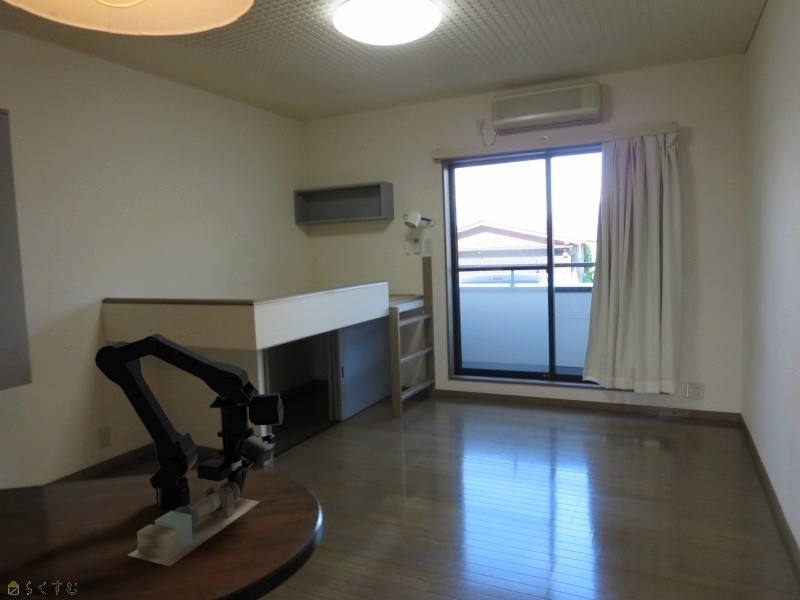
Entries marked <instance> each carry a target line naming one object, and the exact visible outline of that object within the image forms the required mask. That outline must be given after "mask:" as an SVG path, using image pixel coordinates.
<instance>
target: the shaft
mask: <svg viewBox="0 0 800 600" xmlns="http://www.w3.org/2000/svg"><path fill="white" fill-rule="evenodd" d="M228 490H231V491H233V497H234V501H235V500H236V499H238V498H240V496H241V494H240V488H239V486H238V484H237V483H236V482H234V481H232V480H229V481H228V480H227V481H225V482H224V483H222V484H221V485H220V486H219V488H218V490H215V491H214V493H212V494H211V495H209V496H207V497H206V498H204V499H203V498H202V499H201V500H199V501H198V502H196V503H194V504H193V505H191V506H188V505H187V506H181V507H179V508H175V509H174V510H173V511H174V512H179V513H184V514H189V515H191V519H192V531H193V530H194V529H195V528H196V525H197V521H199V520H201V519H202V518H204V517H205V516H207V515H208V514H210V513H211V512H213V511H214V510H216V509H217V508H219V507H221V506H222V505H223V501H222V494H223V493H225V492H226V491H228Z"/></svg>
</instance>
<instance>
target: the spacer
mask: <svg viewBox="0 0 800 600" xmlns="http://www.w3.org/2000/svg"><path fill="white" fill-rule="evenodd" d="M154 525H156V526H161V527H165V528H170V529H174V530H178V531H179V539H180V548H182V547H183V546H185V545H186V544H188V543H189V542H191V541H192V540H193V539H192V519H191V515H189V514H184V513H179V512H174V510H169V511H168V512H167V513H165V514H163V515H161V516H160V517H158V518H156V519H154Z"/></svg>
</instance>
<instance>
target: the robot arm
mask: <svg viewBox="0 0 800 600" xmlns="http://www.w3.org/2000/svg"><path fill="white" fill-rule="evenodd" d="M147 356H152V357H155V358H156V359H158V360H161V361H163V362H165V363H167V364H170V365H171V366H173V367H175V368H177V369H179V370H182V371H184V372H186V373H188V374H190V375H192V376H193V377H196V378H198V379H200V380H201V381H203V383H204V384H206V386H207V387H208V388H209V389H210V390H211V391H212V392H215V393H216V394H217V396H216V397H215V400H213V402H211V404H210V405H209V408H210V409H219V412H220V427H221V429H220V430H219V431H217V432H216V436H217V438H221V445H222V448H221V449H219V450H218V455H219V456H223V458H222V459H218V458H212V457H211V458H210V459H207V460H206V461H204V462H201V464H199V465H198V466H197V467H196V474H197V479H201V480H207V481H211V482H212V481H213V482H222V481H224V480H225V479H227V481H229V480H232V481H234V482H236V483H237V484H238V486H239V488H240V495H241V494H242V493H243V489H244V486H245V481H246V479H247V475H248V472H249V469H250V468H251V466H253V465H255V466H261V465H263V464H265V462H267V461H269V460H271V456H272V453H273V452H274V451H275V450H276V449H277V447H276V443H277V442H276V436H275V434H272V433H271V432H269V433H268V434H265V435H264V436H263V435H255V430H254V428H253V427H250V426H249V421H250V423H251V424H253V425H254V426H280V425H283V420H284V404H283V400H282V399H281V393H280V392H273V393H264V394H262V393H260V392H259V390H258V389H257V388H256V387H255V385H253V383H252V382H251V381H250V378H249V375H248V372H247V371H246V370H245V369H244V368H243V367H241V366H237V365H234V364H231V363H227V362H219V361H215V360H211V359H209V358H208V357H205V356H203V355H201V354H199V353H197V352H195V351H193V350H191V349H188V348H187V347H185V346H182V345H181V344H178V343H176V342H175V341H172V340H170V339H169V338H166V337H165V336H164V335H162V334H160V333H154V334H151V335H148V336H146V337H144V338H141V339H139V340H136V341H132V342H128V341H125V340H120V341H116V342H113V343H111V344H107V345H105V346H102V347H101V348H99V349H98V350H97V352H96V355H95V358H94V363H95V365H96V367H97V368H98V370H99V371H100V372H101V373H102V374H103V375H104V376H105V377H106V379H108V381H111V382H112V383H114V384H115V385H117V386H118V387H119V388H120V389H121V390H122V392H123V394H124V395H125V397H126V399H127V400H128V402H129V404H130V405H131V407H132V408H133V410H134V411H135V413H136V415H137V417H138V418H139V420H140V421H141V423H142V425H143V426H144V428H145V430H146V431H147V433H148V435H149V436H150V438H151V439H152V441H153V443H154V446H155V447H154V448H155V454H156V455H155V456H156V460H157V463H158V465H159V469H158V470H157V471H156V472H155V473H154V474H153V475H152V476H151V477H150V478H149V482H150V484H151V487H152V488H153V489H155V496H156V498H155V500H156V505H158V507H159V509H161V510H162V509H163V510H173V509H177V508H179V507H181V506H187V507H188V505H190V504H191V497H190V496H191V493H190V491H191V490H190V486H189V481H188V480H189V479H188V478H186V475H187V474H189V472H190V470H191V468H192V467H194V465H195V463H197V460H198V456H199V452H198V449H197V448H198V447H199V446H198V445H197V444H196V443H195V442H194V440H193V439H192V435H191V434H190V432H189V431H188V432H186V433H185V434H182V433H180V432H178V431H177V430H176V429H175V427H174V426H173V424H172V422H171V421H170V418H168V416H167V414H166V413H165V411H164V409H163V408H162V406H161V404H160V403H159V401H158V399H157V397H156V396H155V394H154V393H153V391H152V389H151V387H150V385H148V383H147V381H146V379H145V378H144V376H143V373H142V365H141V364H142V363H141V360H140V359H142V358H144V357H147Z"/></svg>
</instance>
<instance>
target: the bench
mask: <svg viewBox="0 0 800 600" xmlns="http://www.w3.org/2000/svg"><path fill="white" fill-rule="evenodd" d="M201 491H202V492H201V493H202V499H204V498H206V497H207V496H209V495H211V494H212V493H214V492H215V490H214V487H213V486H207V487H205V488H204V489H202V490H201ZM222 501H223V505H222V506H221V507H219V508H217V509H216V510H214V511H213V512H211V513H210V514H208V515H207V516H205V517H204V518H202V519H201V520H199V521H197V525H196V528H195V529H194V530H193V531H192V539H193V540H192V541H191V542H189V543H188V544H186V545H185V546H183V547H182V548H180V539H179V531H178V530H174V529H170V528H165V527H161V526H156V525H155V524H152V523H151V524H150V523H149V524H148V525H146V526H145V527H143V528H141V529H139V530H138V531H136V536H137V537H136V539H137V542H136V543H137V549H135V550H134V551H132V552H130V553H129V554H127V556H128V557H131V558H136V559H140V560H144V561H148V562H152V563H156V564H160V565H163V566H167V567H171V566H173V564H175V563H176V562H178V561H180V560H182V558H184V557H186V555H188V554H190V553H191V552H192V551H194V550H195V549H197V548H198V547H199V546H201V545H202V544H204V543H205V542H206V541H208V540H209V539H210V538H212V537H213V536H215V535H216V534H218V533H219V532H220V531H222V530H223V529H225V528H226V527H228V526H229V525H230V524H232V523H233V522H234V521H236V520H237V519H239V518H240V517H241V516H243V515H244V514H246V513H247V512H248V511H251V509H253V508H255V506H257V505H259V503H261V501H260V500H259V501H258V500H253V499H248V498H242V497H239V498H238V499H236V500H235V501H234V497H233V491H231V490H228V491H226V492H225V493H223V494H222Z"/></svg>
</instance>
